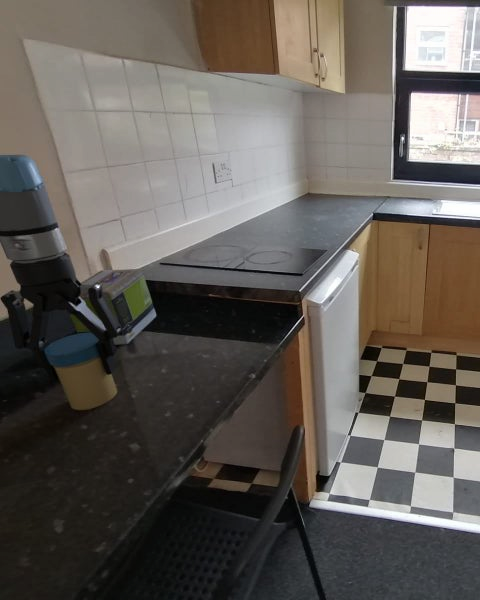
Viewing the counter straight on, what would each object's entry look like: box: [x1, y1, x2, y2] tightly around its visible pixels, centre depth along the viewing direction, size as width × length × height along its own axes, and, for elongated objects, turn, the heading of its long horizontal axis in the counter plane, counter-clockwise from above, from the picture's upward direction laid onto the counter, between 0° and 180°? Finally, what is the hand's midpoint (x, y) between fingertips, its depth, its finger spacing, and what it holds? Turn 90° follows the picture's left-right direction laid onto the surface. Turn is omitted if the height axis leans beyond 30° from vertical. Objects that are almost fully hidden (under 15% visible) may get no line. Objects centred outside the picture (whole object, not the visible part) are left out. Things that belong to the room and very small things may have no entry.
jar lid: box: [44, 333, 99, 367], centre depth 72 cm, size 8×8×2 cm
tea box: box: [69, 268, 157, 346], centre depth 96 cm, size 15×10×15 cm
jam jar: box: [53, 354, 118, 411], centre depth 74 cm, size 7×7×11 cm
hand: (85, 373), depth 74 cm, fingers closed on jar lid, 8 cm apart
